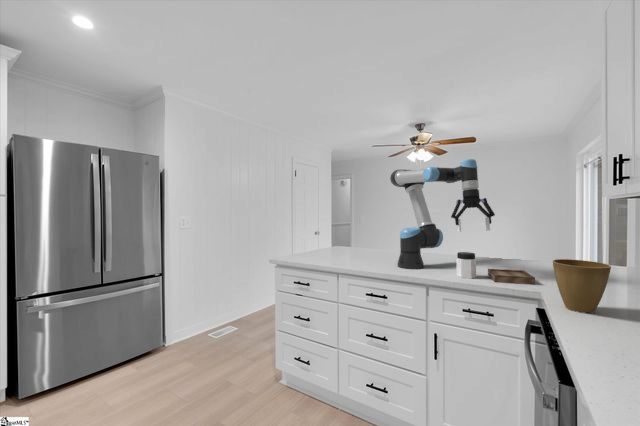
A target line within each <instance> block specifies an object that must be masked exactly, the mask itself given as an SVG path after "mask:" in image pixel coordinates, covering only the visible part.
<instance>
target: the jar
mask: <svg viewBox="0 0 640 426" xmlns="http://www.w3.org/2000/svg"><path fill="white" fill-rule="evenodd" d="M456 277H459V278H461V279H474V278H477V258H476V253H474V252H468V251H461V252H460V251H458V252H457V257H456Z"/></svg>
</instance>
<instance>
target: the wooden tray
mask: <svg viewBox="0 0 640 426" xmlns="http://www.w3.org/2000/svg"><path fill="white" fill-rule="evenodd" d="M487 276H488V277H489V278H490V279H491V280H492V281H493V282H494V283H502V284H503V283H504V284H516V285H517V284H519V285H531V286H532V285H534V286H535V285H536V277H535V276H533V275H532V274H530V273H528V272H527V271H526V270H521V269H520V270H518V269H502V268H501V269H500V268H487Z"/></svg>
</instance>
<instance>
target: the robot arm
mask: <svg viewBox="0 0 640 426" xmlns="http://www.w3.org/2000/svg"><path fill="white" fill-rule="evenodd" d="M478 176H479V175H478V164H477V161H476V159H474V158H469V159H463V160H461V161H460V164H459V166H456V167H436V166H429V167H425V168H420V169H418V168H417V169H396V170H393V172H392V173H391V174H390V177H389V180H390V183H391V185H393V186H394V187H398V188H404V189H405V190H404V191H405V192H406V193H407V194H408V196H409V199H410V202H411V206H412V209H413V213H414V217H415V220H416V223H417V226H414V227H406V228H405V227H404V228H402V229H401V230H400V233H399V234H400V235H399V239H400V240H399V241H400V243H399V245H400V249H399V250H400V252H399V254H400V255H399V257H398V261H397V267H398V268H401V269H411V270H412V269H413V270H417V269H423V268H425V265H424V264H425V263H424V260H423V257H422V254H421V250H422V249H434V248H438V247H440V246H441V245H442V243H443V241H444V233H443V232H442V230H441V229H439V228H437V226H436V225H437V224H435V223H433V221H432V218H431V215H430V211H429V209H428V206H427V201H426V199H425V196H424V195H425V194H424V192H423V189H424V185H425V183H430V182H431V183H433V182H434V183H435V182H437V183H441V182H443V183H445V184H454V183H457V182H460V181H461V189H462V199H457V200H456V204H455V206H454V208H453V211H452V214H451V216H450V218H451V219H454V223H455V226H457V232H458V233H460V232H462V222H461V218H460V217H461V216H462V215H463V213H464V212H465V211H466V210H467V209H471V208H473V209H475V208H476V209H478V210H479V211H480V212H481V213H482V214H483V215H484V216H485V218H484V219H485V230H486V231H491V224H492V217H495V215H496V213H495V212H494V210H493V209H492V207H491V206H490V204H489V203H488V200H487V197H484V198H480V189H479V178H478ZM461 204H463V206H462V208H461V209H460V210H459V208H460V206H461ZM481 204H483V206H484V207H483V206H482V205H481ZM458 210H459V211H458Z"/></svg>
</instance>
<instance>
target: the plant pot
mask: <svg viewBox="0 0 640 426" xmlns="http://www.w3.org/2000/svg"><path fill="white" fill-rule="evenodd" d="M552 268H553V274H554V278H555V281H556V285H557V288H558V291H559V295H560V297H561V300H562V302H563V305H564V307H565V308H566V309H567V308H568V310H569V309H570V311H572V310H574V311H573V312H576V311H581V312H593V313H595V312H596V310H597V308H598V306H599V305H600V303H601V300H602V298H603V295H604V293H605V291H606V288H607V284H608V282H609V278H610V275H611V268H612V266H611V265H610V264H607V263H603V262H598V261H593V260H591V261H590V260H582V259H569V258H564V259H563V258H560V259H559V258H556V259H553V260H552ZM594 311H595V312H594ZM581 312H580V313H581Z"/></svg>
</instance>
